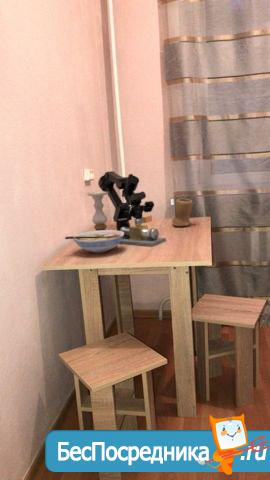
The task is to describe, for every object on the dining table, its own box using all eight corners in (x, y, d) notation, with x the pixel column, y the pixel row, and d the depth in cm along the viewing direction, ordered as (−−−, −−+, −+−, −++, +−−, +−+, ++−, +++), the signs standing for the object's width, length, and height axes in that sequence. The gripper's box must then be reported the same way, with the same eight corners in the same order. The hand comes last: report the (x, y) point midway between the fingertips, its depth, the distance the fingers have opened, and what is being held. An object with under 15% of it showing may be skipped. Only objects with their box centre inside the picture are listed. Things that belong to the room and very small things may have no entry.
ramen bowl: (133, 244, 196) (131, 227, 195) (120, 257, 175) (119, 238, 173) (82, 245, 202) (80, 229, 201) (63, 258, 180) (61, 239, 179)
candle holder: (109, 237, 218) (105, 190, 214) (115, 240, 208) (111, 192, 203) (88, 239, 215) (84, 192, 210) (93, 243, 205) (88, 194, 200)
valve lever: (139, 225, 197) (138, 219, 197) (133, 225, 199) (133, 219, 198) (153, 221, 207) (152, 215, 206) (147, 220, 209) (147, 215, 208)
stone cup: (194, 227, 230) (193, 199, 226) (172, 228, 231) (170, 200, 228) (192, 222, 244) (191, 196, 241) (172, 223, 245) (170, 197, 242)
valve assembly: (113, 243, 202) (111, 225, 201) (127, 238, 212) (126, 221, 210) (152, 246, 190) (151, 228, 188) (165, 241, 200) (164, 223, 198)
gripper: (116, 188, 204) (128, 213, 196) (151, 184, 211) (163, 208, 204) (112, 203, 212) (122, 228, 205) (145, 199, 220) (156, 223, 212)
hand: (141, 221), depth 206 cm, fingers closed
